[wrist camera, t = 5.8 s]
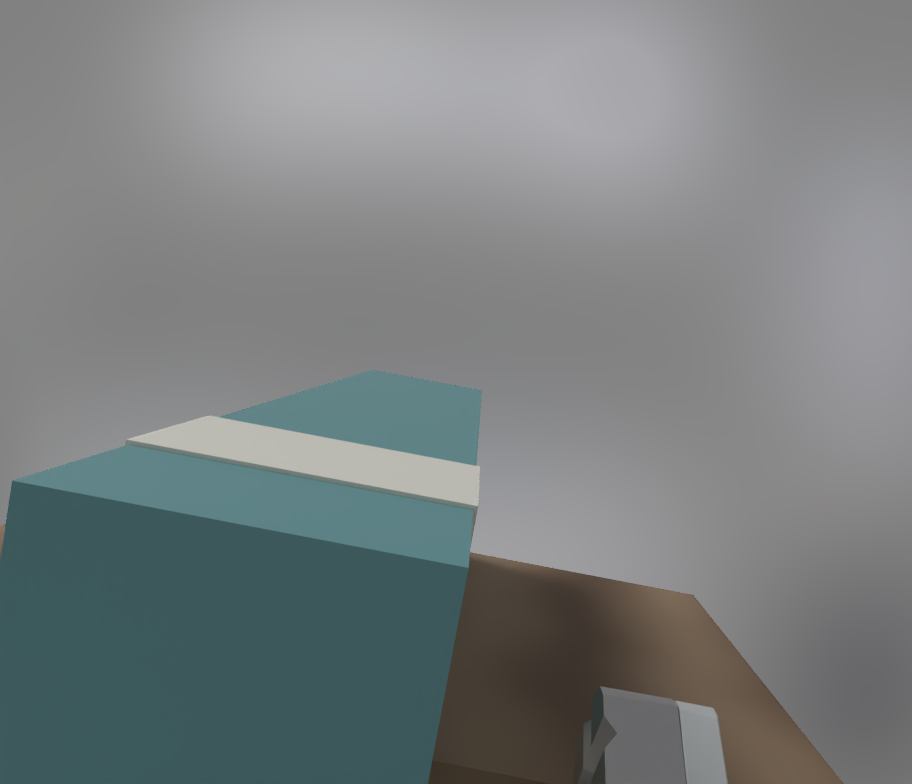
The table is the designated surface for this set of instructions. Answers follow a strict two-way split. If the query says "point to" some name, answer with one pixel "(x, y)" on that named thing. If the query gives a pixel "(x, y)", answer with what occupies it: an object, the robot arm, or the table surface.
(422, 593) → the teal rectangular bar
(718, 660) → the brown wooden box
